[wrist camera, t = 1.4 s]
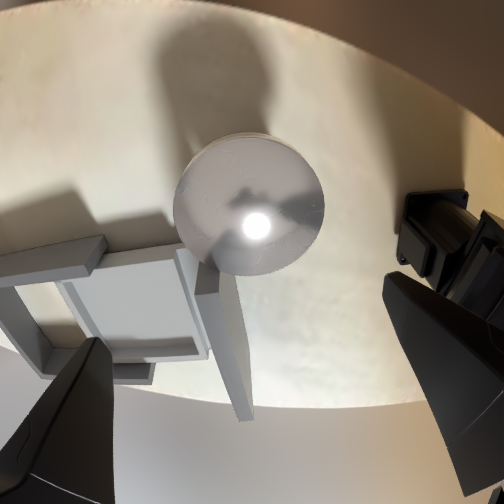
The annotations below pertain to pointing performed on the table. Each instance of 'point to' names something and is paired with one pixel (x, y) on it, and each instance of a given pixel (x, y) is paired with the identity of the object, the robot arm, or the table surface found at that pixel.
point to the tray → (165, 313)
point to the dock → (47, 270)
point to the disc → (248, 204)
